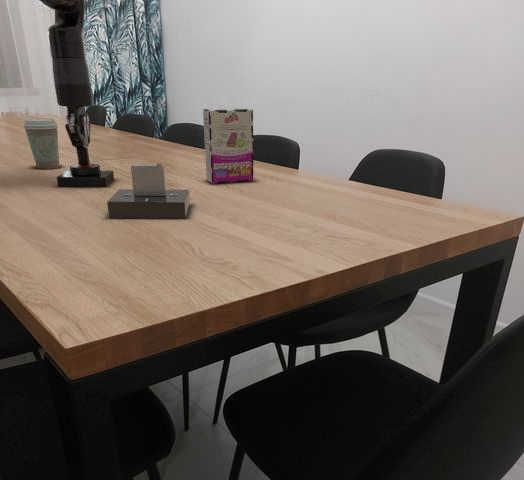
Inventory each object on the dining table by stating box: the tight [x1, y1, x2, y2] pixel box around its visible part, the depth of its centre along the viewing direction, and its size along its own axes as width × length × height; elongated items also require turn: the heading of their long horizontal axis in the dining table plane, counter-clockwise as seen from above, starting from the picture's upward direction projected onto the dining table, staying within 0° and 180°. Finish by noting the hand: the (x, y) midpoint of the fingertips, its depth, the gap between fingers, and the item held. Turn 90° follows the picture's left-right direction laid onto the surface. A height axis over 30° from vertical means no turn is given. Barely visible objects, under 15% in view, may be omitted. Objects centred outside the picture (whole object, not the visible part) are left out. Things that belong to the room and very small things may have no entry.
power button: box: [77, 163, 93, 167], centre depth 118 cm, size 4×4×2 cm
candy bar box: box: [202, 107, 254, 185], centre depth 121 cm, size 11×5×16 cm, turn 114°
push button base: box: [56, 163, 115, 188], centre depth 119 cm, size 11×9×4 cm
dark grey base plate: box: [106, 188, 191, 219], centre depth 97 cm, size 14×11×3 cm
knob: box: [130, 162, 167, 196], centre depth 95 cm, size 6×2×6 cm, turn 93°
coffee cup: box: [23, 117, 60, 170], centre depth 135 cm, size 9×8×12 cm
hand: (84, 164), depth 118 cm, fingers closed
